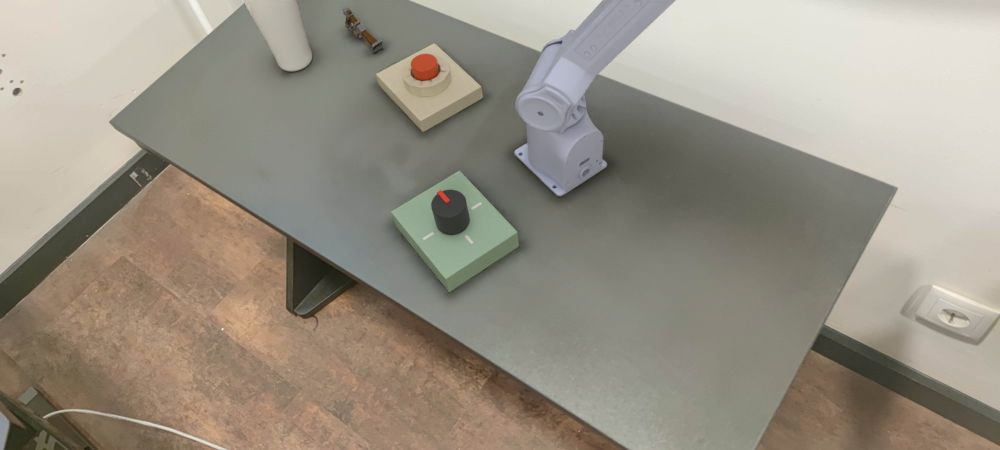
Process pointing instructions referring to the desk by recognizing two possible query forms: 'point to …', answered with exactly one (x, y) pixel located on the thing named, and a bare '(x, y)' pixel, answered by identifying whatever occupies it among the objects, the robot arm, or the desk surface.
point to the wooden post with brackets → (360, 30)
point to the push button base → (430, 89)
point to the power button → (424, 67)
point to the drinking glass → (282, 31)
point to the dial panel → (463, 251)
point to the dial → (450, 212)
